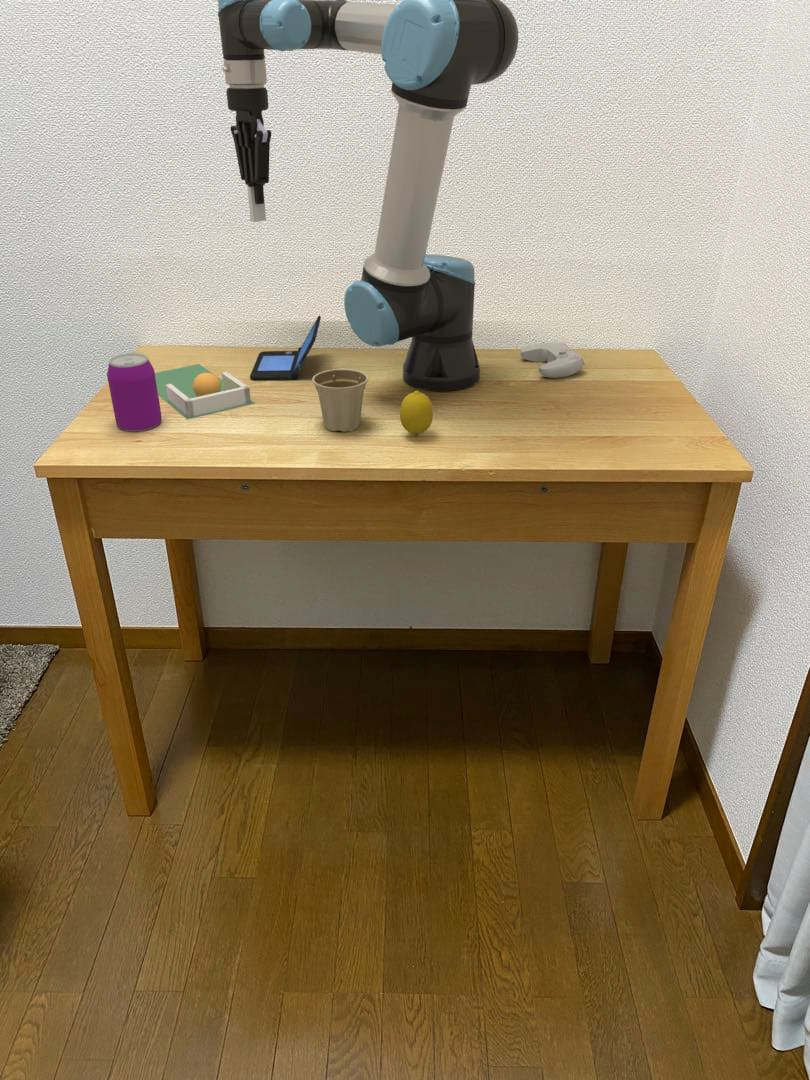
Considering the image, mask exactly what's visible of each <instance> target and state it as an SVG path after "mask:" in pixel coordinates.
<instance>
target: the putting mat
mask: <svg viewBox="0 0 810 1080" xmlns="http://www.w3.org/2000/svg"><path fill="white" fill-rule="evenodd" d="M202 373H211V374H213V375H215V374H214V373H213V372H211V371H210V370H209V369H207V368H205V366H202V364H199V363H197V364H192V365H191V364H190V365H188V366H187V365H186V366H182V367H177V368H172V369H168V370H167V369H166V370H163V371H158V372H155V378H156V384H157V391H158V397H160V398H161V399H163V400H164V402H166V403H167V404H168V405H170V407H172V408H173V409H174V410H175V411H176V412H178V413H179V414H180V415H181V416H183V417H184V418H185V419H186V420H191V419H196V418H200V417H203V416H208V415H209V416H210V415H212V414H216V413H221V412H225V411H230V410H234V409H239V408H241V407H246V406H251V405H255V402H254V401H252V400H251V403H249V404H245V405H241V406H236V407H232V408H228V409H224V410H219V411H215V412H211V413H207V414H203V415H198V416H194V417H190V418H189V417H187V416H186V415H185V414H184V413H183V412H181V411H180V410H179V409H178V408H177V407H175V406H174V405H173V404H172V403H171V402H170V401H168V397H167V390H166V385H167V384H172V385H173V386H174V387H176V388H177V389H178V390H179V391H181V392H182V393H183V394H184V395H186V396H187V397H188V398H189V399H191V398H195V397H197V395H196V394H195V393H194V390H193V382H194V380H195V378H196V377H197V376H198V375H200V374H202ZM215 376H216V377H217V378H218V380H219V381H220V384H221V390H220V392H222V391H226V389H224V388H223V381H222V379H221V378H220V377H218V376H217V375H215Z"/></svg>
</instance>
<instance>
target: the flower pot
mask: <svg viewBox="0 0 810 1080" xmlns="http://www.w3.org/2000/svg"><path fill="white" fill-rule="evenodd" d="M311 381H312V384H313V385H314V387H315V389H316V392H317V395H318V399H319V404H320V405H319V406H320V410H321V411H320V412H321V415H322V420H323V426H324V428H325V429H327V430H328V431H332V432H337V431H341V432H343V433H344V432H351V431H354V430H356V429H358V428H359V427H360V424H361V416H362V410H363V409H362V408H363V400H364V391H365V389H366V387H367V386H366V384H367V383H368V381H369V376H368V374H367V373H364V372H363V371H360V370H356V369H350V368H349V369H347V368H336V369H335V368H334V369H328V370H327V369H326V370H324V371H321V372H318V373H316V374H315V375H313V376H312V378H311Z"/></svg>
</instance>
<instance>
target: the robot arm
mask: <svg viewBox="0 0 810 1080" xmlns="http://www.w3.org/2000/svg"><path fill="white" fill-rule="evenodd" d="M217 7H218V9H217V10H218V11H217V17H218V24H219V32H220V41H221V51H222V58H223V66H222V67H221V69H222V72H224V76H225V77H224V78H225V84H226V85H228V86H229V87H228V88H227V89H226V91H225V92H226V100H227V108H228V110H229V111H232V112H235V122H236V123H235V125H231V126H230V132H231V135H232V139H233V143H234V147H235V153H236V158H237V159H236V160H237V163H238V169H239V174H240V179H241V181H244V183H245V185H246V186H247V197H248V198H247V200H248V210H249V218H250V219H249V221H250V222H252V223H255V222H256V223H257V222H265V221H267V216H266V215H267V214H266V203H265V202H266V201H265V192H264V191H265V190H264V186H265V185H266V184H269V181H270V149H271V148H270V147H271V146H270V145H271V139H272V131H271V130H270V129H268V130H266V128H265V125H264V124H265V120H264V117H263V111H267V110H268V109H269V96H268V89H267V87H265V85H267V83H268V79H267V78H268V77H267V68H266V67H267V66H266V55H265V50H268V51H269V50H270V51H280V52H286V51H287V52H292V51H295V50H298V51H299V50H317V49H318V50H337V51H339V50H340V51H347V52H349V51H351V52H359V53H366V54H375V55H381V59H382V61H383V62H384V63H385V65H384V66H383V68H384V71H385V73H386V75H387V77H388V78H389V81H390V82H392V83H391V88H390V90H391V91H390V92H391V94H392V96H393V98H394V99H395V100H396V102H397V104H398V107H397V115H396V120H395V126H394V132H393V139H392V145H391V150H390V157H389V163H388V168H387V176H386V181H385V186H384V187H385V188H384V192H383V193H384V194H383V200H382V205H381V212H380V217H379V224H378V230H377V236H376V243H375V248H374V253H371V254H370V255H369V256H367V257H366V258H365V259H364V262H363V267H362V273H361V277H360V278H361V279H360V280H356V281H354V282H352V284H351V285H349V286H348V287H347V288H346V290H345V293H344V298H343V299H344V300H343V303H344V305H343V306H344V312H345V316H346V320H347V321H348V323H349V325H350V328H351V329H352V331H353V332H354V334H355V335H356V337H357V338H358V339H360V340H361V342H363V343H365V344H366V345H369V346H371V347H376V348H378V347H383V346H387V345H388V346H389V345H390V346H391V345H392V346H393V345H394V344H396V343H398V342H400V341H401V342H402V341H405V340H407V339H410V338H411V341H410V345H409V347H408V350H407V354H406V358H405V361H404V363H403V366H402V379H403V381H404V383H406V384H408V385H410V386H411V387H413V388H417V389H422V390H426V391H434V392H436V391H437V392H438V391H439V392H449V391H450V392H451V391H457V390H458V391H459V390H464V389H467V388H469V387H472V386H474V385H476V384H478V383H479V382H480V379H481V366H480V363H479V359H478V356H477V352H476V347H475V345H474V341H473V331H474V329H473V327H474V307H475V306H474V305H475V304H474V303H475V288H476V280H475V267H474V264H472V262H470V261H469V260H468V259H464V258H461V257H457V256H450V255H441V254H427V250H428V244H429V240H430V235H431V231H432V230H431V229H432V227H433V222H434V221H433V220H434V215H435V211H436V207H437V201H438V196H439V192H440V191H439V190H440V187H441V183H442V177H443V173H444V167H445V163H446V158H447V152H448V147H449V143H450V140H451V139H450V138H451V134H452V129H453V123H454V119H455V118H456V116H457V115H458V114H460V113H461V112H463V111H465V110H466V109H467V106H468V100H469V96H470V92H471V88H472V85H474V86H475V85H482V84H487V83H489V82H492V81H494V80H496V79H497V78H499V77H500V76H502V75H503V74H504V73H505V72H506V71H507V70H508V68H510V66H511V65H512V63H513V61H514V59H515V57H516V53H517V50H518V47H519V29H518V24H517V20H516V18H515V16H514V14H513V12H512V10H511V9H510V8H509V7H508V6H507V5H506V4H505V3H504V2H503V1H502V0H402V1H401V2H400V3H399V4H396V3H395V4H393V3H381V2H380V3H379V2H378V3H377V2H364V1H352V0H351V1H350V0H217Z"/></svg>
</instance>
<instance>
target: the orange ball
mask: <svg viewBox="0 0 810 1080" xmlns="http://www.w3.org/2000/svg"><path fill="white" fill-rule="evenodd" d="M211 373H212V372H211ZM211 373H202V374H200V375H198V376H197V377H196V378H195V380H194V382H193V390H194V393H195V394H196V395H197V397H200V396H204V395H209V394H213V393H218V392H220V390H221V384H220V381H219V380H218V378H219V377H218V376H217V375H216V374H214V373H213V374H214V375H213V374H211ZM216 376H217V377H218V378H217V377H216Z"/></svg>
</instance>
